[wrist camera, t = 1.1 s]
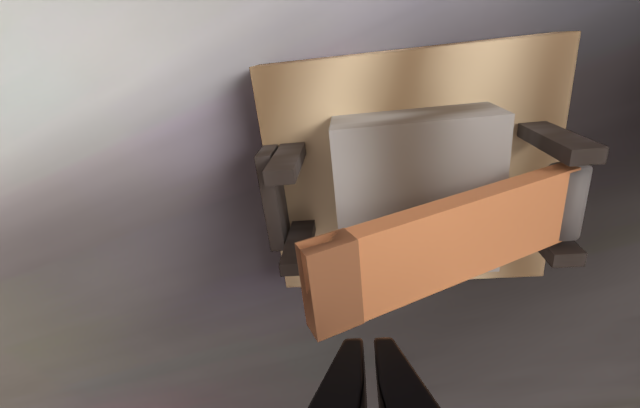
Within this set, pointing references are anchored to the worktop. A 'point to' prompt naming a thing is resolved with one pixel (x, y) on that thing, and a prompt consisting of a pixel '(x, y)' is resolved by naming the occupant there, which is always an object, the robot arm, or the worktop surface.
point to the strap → (436, 245)
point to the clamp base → (413, 84)
